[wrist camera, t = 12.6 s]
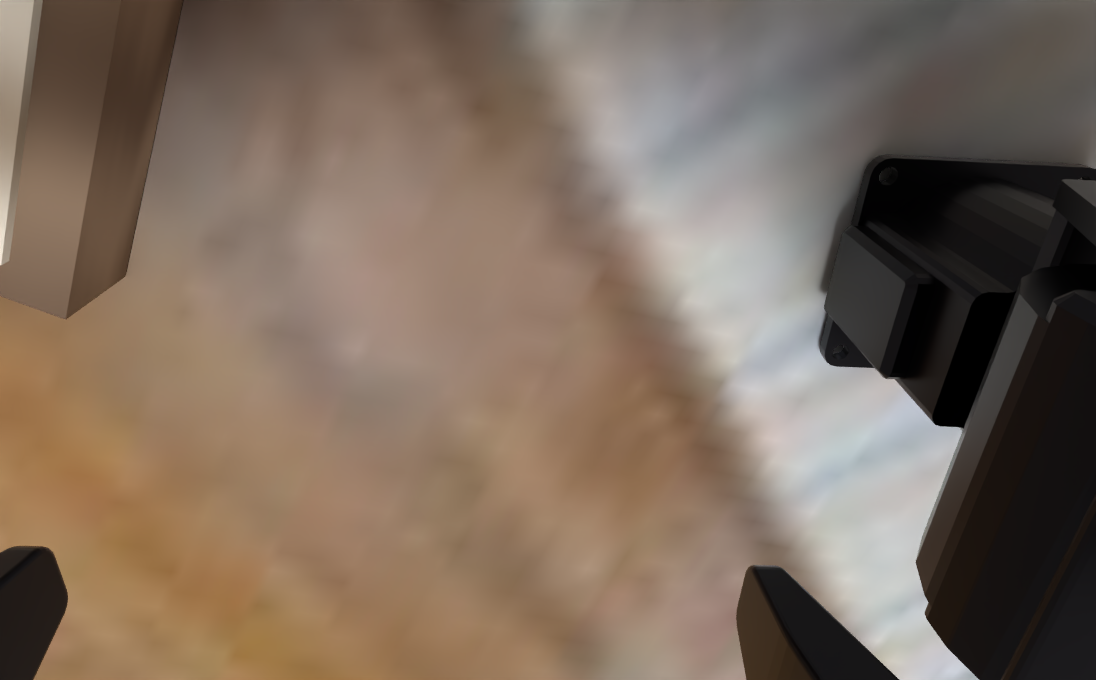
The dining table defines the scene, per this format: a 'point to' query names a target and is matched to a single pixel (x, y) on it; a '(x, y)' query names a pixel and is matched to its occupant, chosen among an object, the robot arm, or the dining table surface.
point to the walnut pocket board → (76, 141)
